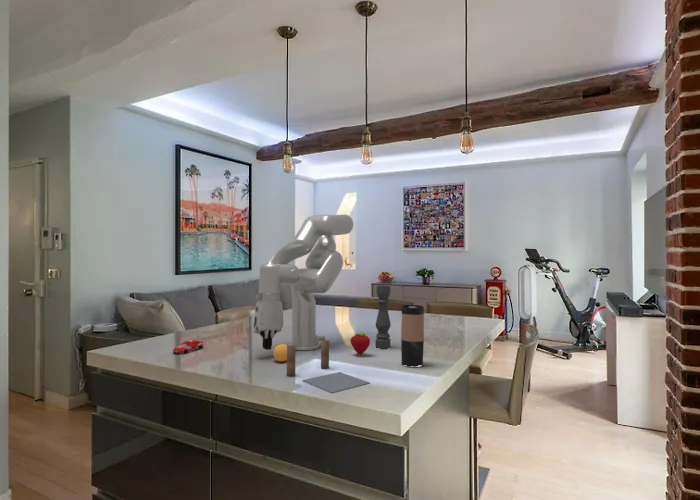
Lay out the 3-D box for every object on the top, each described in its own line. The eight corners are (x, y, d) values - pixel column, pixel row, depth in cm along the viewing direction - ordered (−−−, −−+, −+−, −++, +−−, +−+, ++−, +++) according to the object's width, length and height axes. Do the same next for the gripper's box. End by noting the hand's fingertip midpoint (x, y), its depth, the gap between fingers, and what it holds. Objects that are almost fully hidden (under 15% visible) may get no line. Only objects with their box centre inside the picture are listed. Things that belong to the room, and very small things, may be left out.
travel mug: (425, 363, 144) (425, 305, 144) (421, 368, 137) (422, 307, 137) (403, 361, 146) (403, 304, 147) (398, 366, 139) (399, 306, 139)
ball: (284, 358, 148) (285, 341, 148) (294, 361, 143) (294, 344, 144) (269, 361, 144) (270, 343, 144) (278, 364, 140) (279, 346, 140)
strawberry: (353, 352, 158) (353, 326, 158) (372, 354, 155) (372, 328, 156) (347, 356, 153) (348, 328, 153) (366, 358, 150) (367, 330, 150)
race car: (181, 356, 151) (181, 345, 151) (169, 354, 153) (169, 344, 153) (206, 348, 163) (206, 338, 163) (195, 347, 165) (195, 337, 165)
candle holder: (374, 346, 170) (374, 285, 171) (389, 346, 171) (389, 285, 171) (376, 349, 164) (377, 286, 165) (391, 349, 165) (392, 286, 165)
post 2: (325, 366, 138) (325, 339, 138) (330, 368, 136) (330, 340, 136) (319, 367, 136) (319, 340, 136) (324, 369, 134) (324, 341, 134)
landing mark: (339, 372, 131) (339, 372, 131) (369, 383, 120) (369, 382, 120) (302, 380, 122) (302, 380, 122) (331, 393, 111) (331, 392, 111)
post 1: (292, 373, 129) (292, 344, 129) (296, 375, 127) (297, 346, 127) (284, 375, 127) (285, 345, 128) (289, 376, 126) (289, 347, 126)
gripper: (255, 299, 143) (253, 353, 142) (292, 298, 153) (290, 348, 152) (245, 297, 149) (243, 349, 148) (281, 296, 158) (279, 345, 158)
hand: (267, 348), depth 150 cm, fingers closed
